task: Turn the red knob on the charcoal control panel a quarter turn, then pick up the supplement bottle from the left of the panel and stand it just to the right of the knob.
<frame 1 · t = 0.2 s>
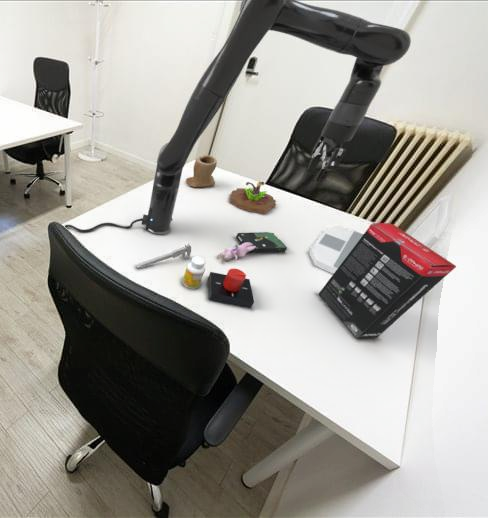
hand: (314, 175, 91), 29 cm above the table, tool pointing down, fingers open, 8 cm apart
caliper: (163, 262, 101), on the table
graphics card box: (344, 316, 85), on the table
laptop: (351, 257, 108), on the table
control panel: (228, 292, 90), on the table
plant: (250, 203, 138), on the table
pink creature figurine: (235, 256, 105), on the table, touching disk drive
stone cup: (200, 185, 150), on the table
knob: (234, 279, 87), point 6 cm above the table, hinge at 0.0°
disk drive: (258, 245, 111), on the table, touching pink creature figurine
supplement bottle: (190, 283, 93), on the table
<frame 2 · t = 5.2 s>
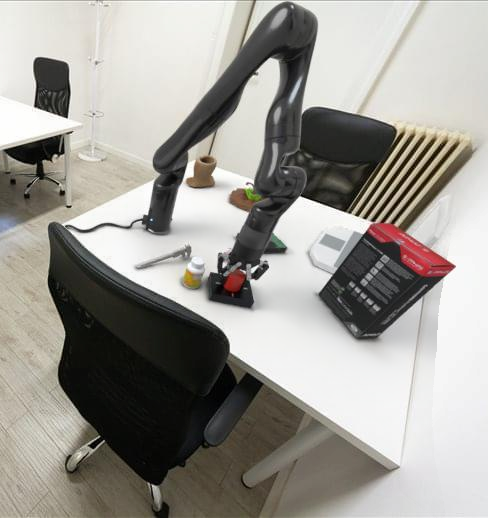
hand: (231, 284, 88), 4 cm above the table, tool pointing down, fingers closed on knob, 5 cm apart
pink creature figurine: (238, 255, 106), on the table, touching disk drive
knob: (234, 279, 87), point 6 cm above the table, hinge at 0.0°, touching gripper
everything else where it was.
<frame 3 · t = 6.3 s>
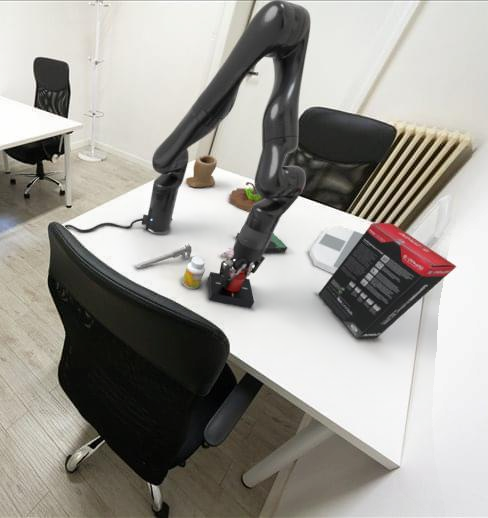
hand: (231, 284, 88), 4 cm above the table, tool pointing down, fingers closed on knob, 5 cm apart
knob: (234, 279, 87), point 6 cm above the table, hinge at 35.4°, touching gripper
everything else where it was.
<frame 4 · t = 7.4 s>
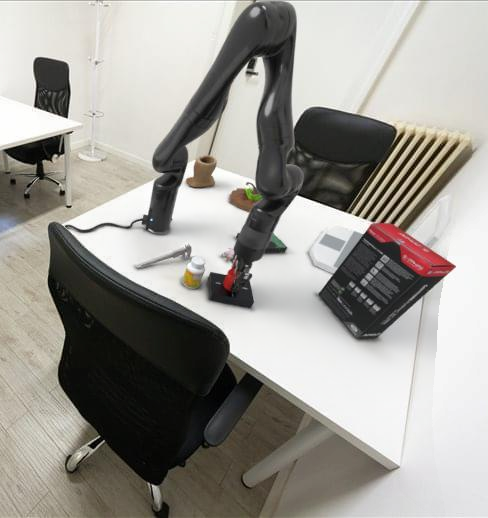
hand: (232, 284, 88), 4 cm above the table, tool pointing down, fingers closed on knob, 5 cm apart
knob: (234, 279, 87), point 6 cm above the table, hinge at 93.2°, touching gripper
everything else where it was.
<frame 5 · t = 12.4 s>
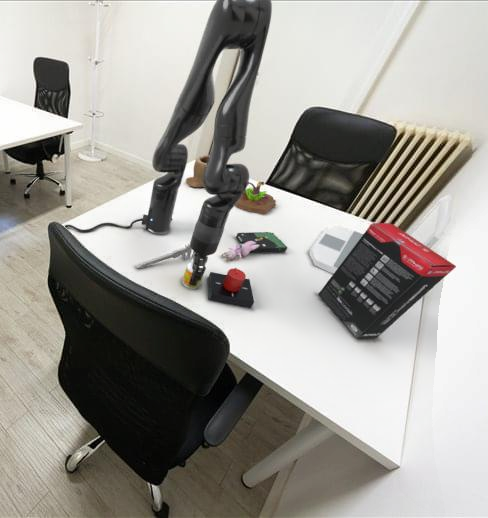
hand: (192, 278, 92), 2 cm above the table, tool pointing down, fingers closed on supplement bottle, 5 cm apart
knob: (234, 279, 87), point 6 cm above the table, hinge at 93.0°
supplement bottle: (190, 283, 93), on the table, touching gripper
everything else where it was.
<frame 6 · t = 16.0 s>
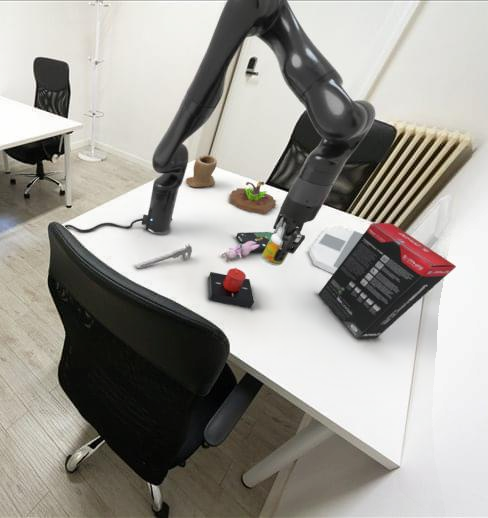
hand: (275, 253, 78), 17 cm above the table, tool pointing down, fingers closed on supplement bottle, 5 cm apart
supplement bottle: (271, 260, 80), point 15 cm above the table, touching gripper
everything else where it was.
when the fingers open (2 cm above the table, at t = 20.1 s): supplement bottle stays where it is, on the table.
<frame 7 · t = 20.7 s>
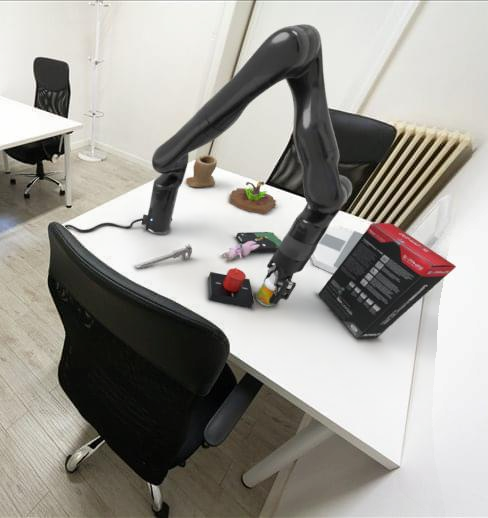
hand: (269, 292, 87), 3 cm above the table, tool pointing down, fingers open, 8 cm apart
supplement bottle: (264, 300, 89), on the table
everything else where it was.
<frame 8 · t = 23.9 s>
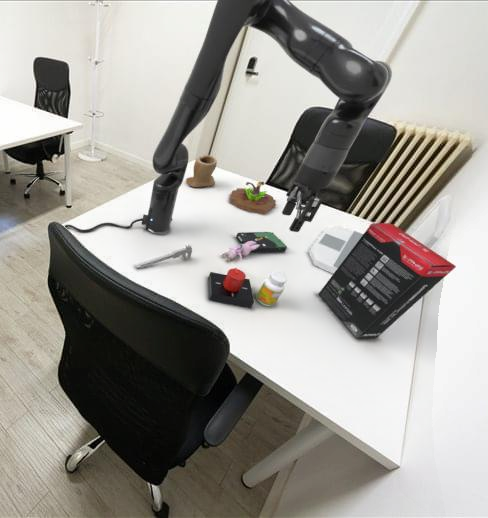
hand: (289, 222, 78), 24 cm above the table, tool pointing down, fingers open, 8 cm apart
nothing on the table moved.
at the end: knob at +93° (first picture: +0°); supplement bottle inside the target area on the table beside the control panel (0.3 cm from its centre), on the table; supplement bottle tilted 0° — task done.
